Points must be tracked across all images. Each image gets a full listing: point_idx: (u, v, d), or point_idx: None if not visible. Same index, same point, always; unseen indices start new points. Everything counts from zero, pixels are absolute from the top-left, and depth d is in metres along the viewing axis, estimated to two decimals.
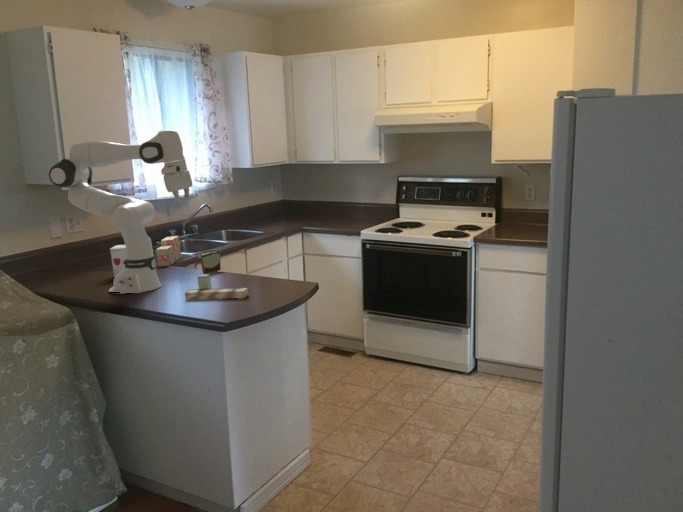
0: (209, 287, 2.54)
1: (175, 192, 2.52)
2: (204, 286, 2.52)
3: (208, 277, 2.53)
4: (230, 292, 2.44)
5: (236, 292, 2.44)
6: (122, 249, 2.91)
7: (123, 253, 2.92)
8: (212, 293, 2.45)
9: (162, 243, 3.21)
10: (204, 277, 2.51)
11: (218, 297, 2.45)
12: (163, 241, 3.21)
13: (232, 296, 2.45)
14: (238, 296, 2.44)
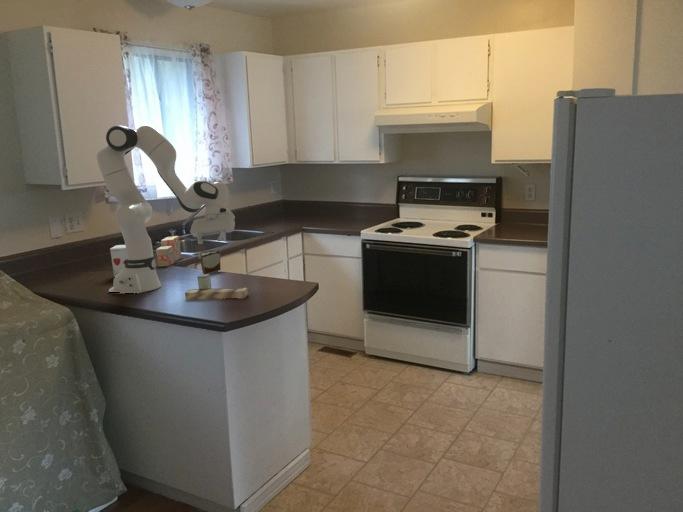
0: (209, 287, 2.54)
1: (224, 232, 2.61)
2: (204, 286, 2.52)
3: (208, 277, 2.53)
4: (230, 292, 2.44)
5: (236, 292, 2.44)
6: (122, 249, 2.91)
7: (123, 253, 2.92)
8: (212, 293, 2.45)
9: (162, 243, 3.21)
10: (204, 277, 2.51)
11: (218, 297, 2.45)
12: (163, 241, 3.21)
13: (232, 296, 2.45)
14: (238, 296, 2.44)
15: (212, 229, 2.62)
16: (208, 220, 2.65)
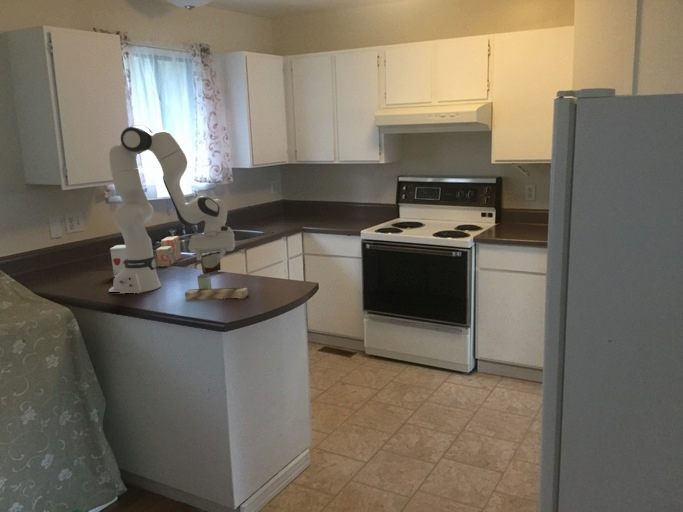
0: (209, 287, 2.54)
1: (225, 251, 2.61)
2: (204, 286, 2.52)
3: (208, 277, 2.53)
4: (230, 292, 2.44)
5: (236, 292, 2.44)
6: (122, 249, 2.91)
7: (123, 253, 2.92)
8: (212, 293, 2.45)
9: (162, 243, 3.20)
10: (204, 277, 2.51)
11: (218, 297, 2.45)
12: (163, 241, 3.20)
13: (232, 296, 2.45)
14: (238, 296, 2.44)
15: (212, 246, 2.61)
16: (208, 237, 2.64)
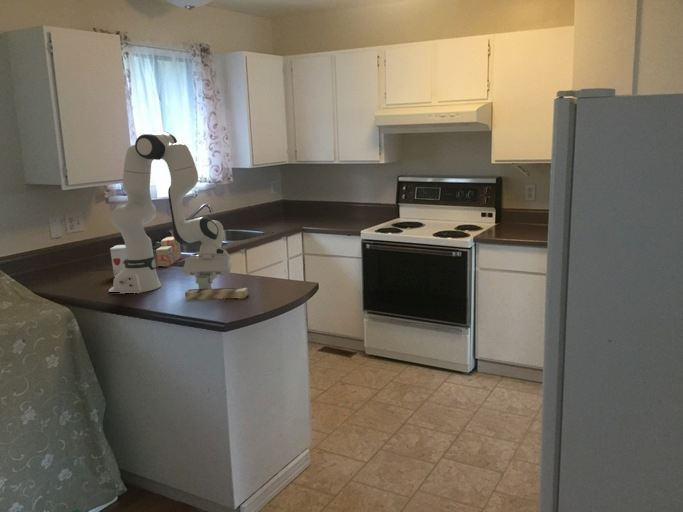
0: (209, 287, 2.54)
1: (215, 274, 2.55)
2: (204, 286, 2.52)
3: (208, 277, 2.53)
4: (230, 292, 2.44)
5: (236, 292, 2.44)
6: (122, 249, 2.91)
7: (123, 253, 2.92)
8: (212, 293, 2.45)
9: (162, 243, 3.20)
10: (204, 277, 2.51)
11: (218, 297, 2.45)
12: (163, 241, 3.20)
13: (232, 296, 2.45)
14: (238, 296, 2.44)
15: (207, 270, 2.55)
16: (203, 260, 2.58)
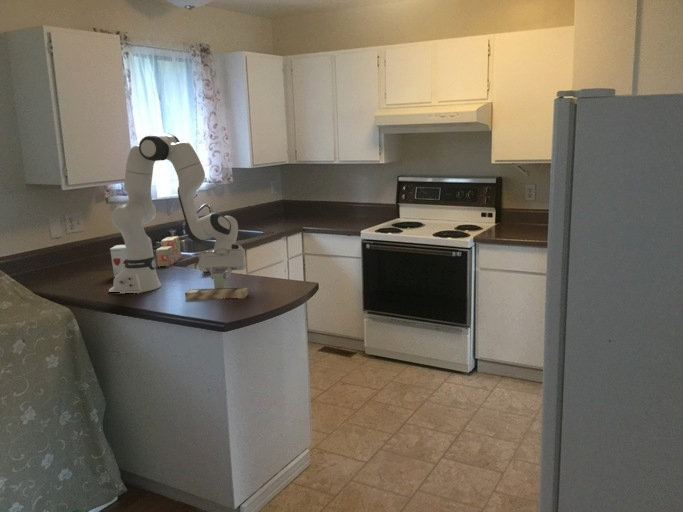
0: (224, 283, 2.53)
1: (231, 270, 2.54)
2: (219, 282, 2.51)
3: (223, 273, 2.52)
4: (230, 292, 2.44)
5: (236, 292, 2.44)
6: (122, 249, 2.91)
7: (123, 253, 2.92)
8: (212, 293, 2.45)
9: (162, 243, 3.20)
10: (219, 273, 2.50)
11: (218, 297, 2.45)
12: (163, 241, 3.20)
13: (232, 296, 2.45)
14: (238, 296, 2.44)
15: (223, 265, 2.53)
16: (218, 255, 2.56)
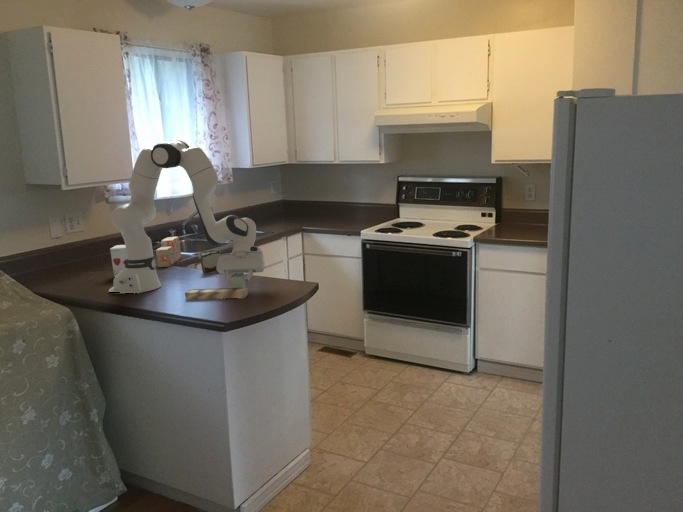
0: (243, 286, 2.52)
1: (252, 272, 2.53)
2: (238, 285, 2.50)
3: (242, 276, 2.51)
4: (230, 292, 2.44)
5: (236, 292, 2.44)
6: (122, 249, 2.91)
7: (123, 253, 2.92)
8: (212, 293, 2.45)
9: (162, 244, 3.19)
10: (238, 276, 2.49)
11: (218, 297, 2.45)
12: (163, 242, 3.19)
13: (232, 296, 2.45)
14: (238, 296, 2.44)
15: (241, 268, 2.52)
16: (236, 257, 2.55)
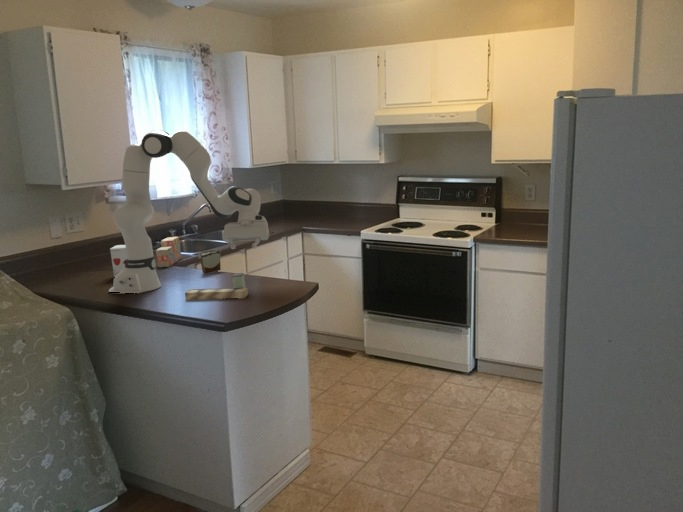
0: (243, 286, 2.52)
1: (259, 240, 2.61)
2: (238, 285, 2.50)
3: (242, 276, 2.51)
4: (230, 292, 2.44)
5: (236, 292, 2.44)
6: (122, 249, 2.91)
7: (123, 253, 2.92)
8: (212, 293, 2.45)
9: (162, 244, 3.19)
10: (238, 276, 2.49)
11: (218, 297, 2.45)
12: (163, 242, 3.19)
13: (232, 296, 2.45)
14: (238, 296, 2.44)
15: (247, 235, 2.61)
16: (242, 226, 2.64)
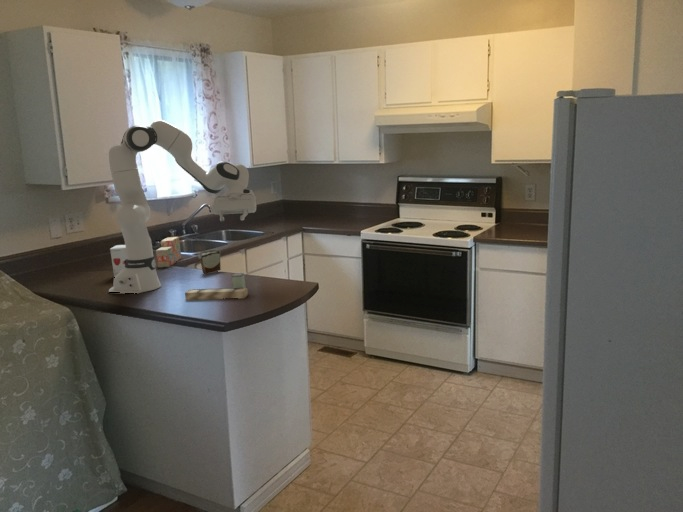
0: (243, 286, 2.52)
1: (247, 212, 2.72)
2: (238, 285, 2.50)
3: (242, 276, 2.51)
4: (230, 292, 2.44)
5: (236, 292, 2.44)
6: (122, 249, 2.91)
7: (123, 253, 2.92)
8: (212, 293, 2.45)
9: (162, 244, 3.19)
10: (238, 276, 2.49)
11: (218, 297, 2.45)
12: (163, 242, 3.18)
13: (232, 296, 2.45)
14: (238, 296, 2.44)
15: (235, 208, 2.71)
16: (230, 199, 2.74)
